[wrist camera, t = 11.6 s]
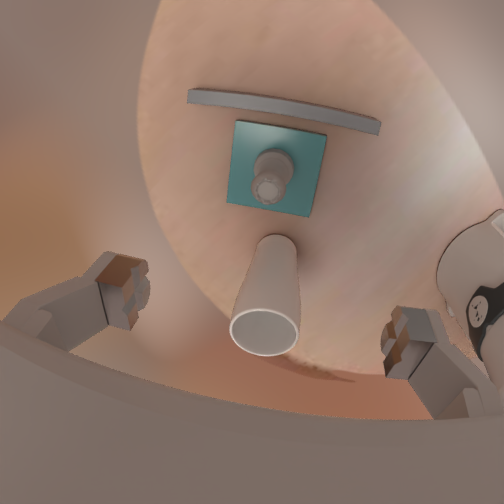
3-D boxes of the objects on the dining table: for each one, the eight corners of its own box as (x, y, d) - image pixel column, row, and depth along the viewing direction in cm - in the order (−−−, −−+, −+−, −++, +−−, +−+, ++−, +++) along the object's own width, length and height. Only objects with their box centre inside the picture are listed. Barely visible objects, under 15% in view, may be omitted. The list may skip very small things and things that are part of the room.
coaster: (326, 134, 33) (326, 136, 32) (308, 213, 38) (309, 217, 37) (237, 119, 33) (235, 120, 32) (228, 199, 39) (226, 202, 38)
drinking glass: (283, 279, 44) (273, 365, 31) (241, 255, 43) (216, 337, 30) (313, 245, 40) (314, 330, 28) (268, 217, 39) (251, 296, 27)
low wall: (374, 118, 31) (381, 122, 28) (372, 130, 31) (378, 135, 29) (197, 88, 32) (188, 89, 29) (195, 100, 32) (187, 103, 30)
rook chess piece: (284, 141, 33) (279, 160, 26) (300, 176, 35) (300, 204, 28) (247, 156, 34) (233, 180, 28) (265, 190, 36) (256, 221, 30)
